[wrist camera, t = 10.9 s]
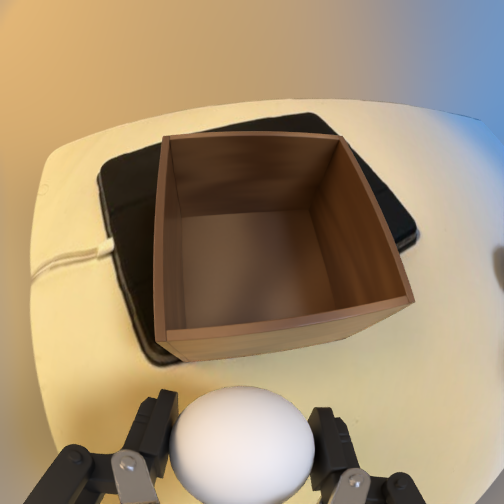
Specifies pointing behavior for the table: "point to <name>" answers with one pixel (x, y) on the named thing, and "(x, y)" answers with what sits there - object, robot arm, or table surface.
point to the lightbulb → (241, 447)
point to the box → (267, 245)
